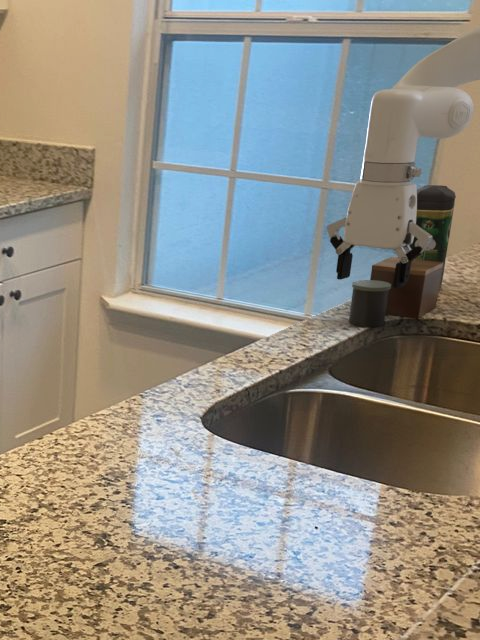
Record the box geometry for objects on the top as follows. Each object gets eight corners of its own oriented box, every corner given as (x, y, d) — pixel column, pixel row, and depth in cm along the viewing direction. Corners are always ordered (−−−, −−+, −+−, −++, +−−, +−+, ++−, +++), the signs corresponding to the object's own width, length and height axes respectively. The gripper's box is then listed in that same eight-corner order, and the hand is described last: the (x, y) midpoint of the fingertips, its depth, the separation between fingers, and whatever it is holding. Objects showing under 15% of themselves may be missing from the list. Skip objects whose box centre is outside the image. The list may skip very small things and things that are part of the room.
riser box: (384, 301, 185) (391, 256, 182) (436, 308, 180) (443, 262, 177) (365, 311, 179) (372, 265, 176) (418, 318, 174) (425, 270, 170)
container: (373, 317, 175) (379, 279, 172) (392, 326, 169) (398, 286, 167) (340, 320, 174) (345, 281, 171) (358, 328, 169) (363, 288, 166)
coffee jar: (398, 281, 200) (413, 182, 192) (442, 284, 197) (459, 183, 189) (392, 291, 192) (408, 188, 184) (438, 294, 189) (456, 190, 181)
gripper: (451, 175, 158) (432, 286, 165) (347, 168, 170) (333, 272, 177) (430, 179, 154) (411, 293, 161) (324, 171, 165) (310, 278, 172)
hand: (370, 282), depth 169 cm, fingers open, 9 cm apart
